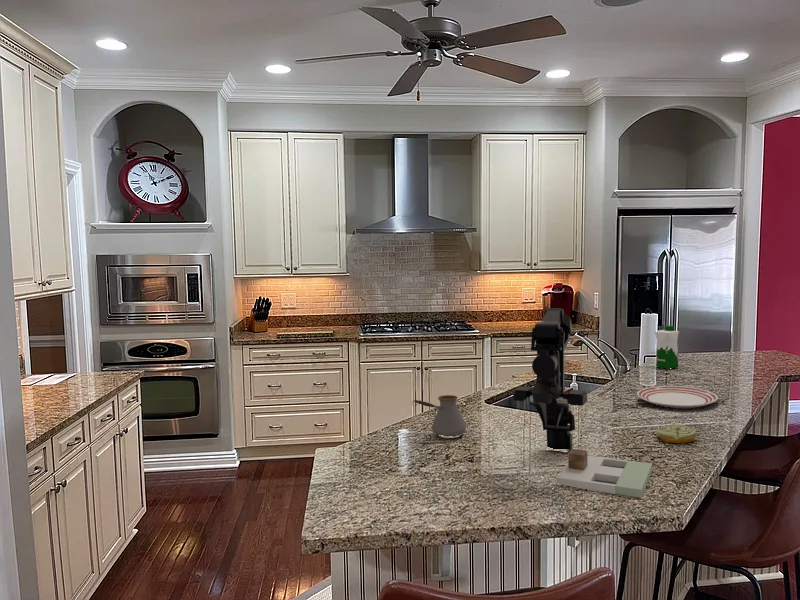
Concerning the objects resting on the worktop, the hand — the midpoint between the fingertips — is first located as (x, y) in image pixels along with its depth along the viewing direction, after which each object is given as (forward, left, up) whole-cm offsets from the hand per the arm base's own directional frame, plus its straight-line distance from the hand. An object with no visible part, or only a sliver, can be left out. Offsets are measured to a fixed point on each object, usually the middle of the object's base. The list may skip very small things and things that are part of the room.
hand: (550, 427), depth 159 cm
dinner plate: (+23, +86, -12) cm, 90 cm away
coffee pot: (-41, +14, -12) cm, 45 cm away
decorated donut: (+27, +40, -12) cm, 50 cm away
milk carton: (+13, +152, -12) cm, 153 cm away
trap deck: (+14, 0, -12) cm, 18 cm away
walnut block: (+7, 0, -10) cm, 12 cm away
